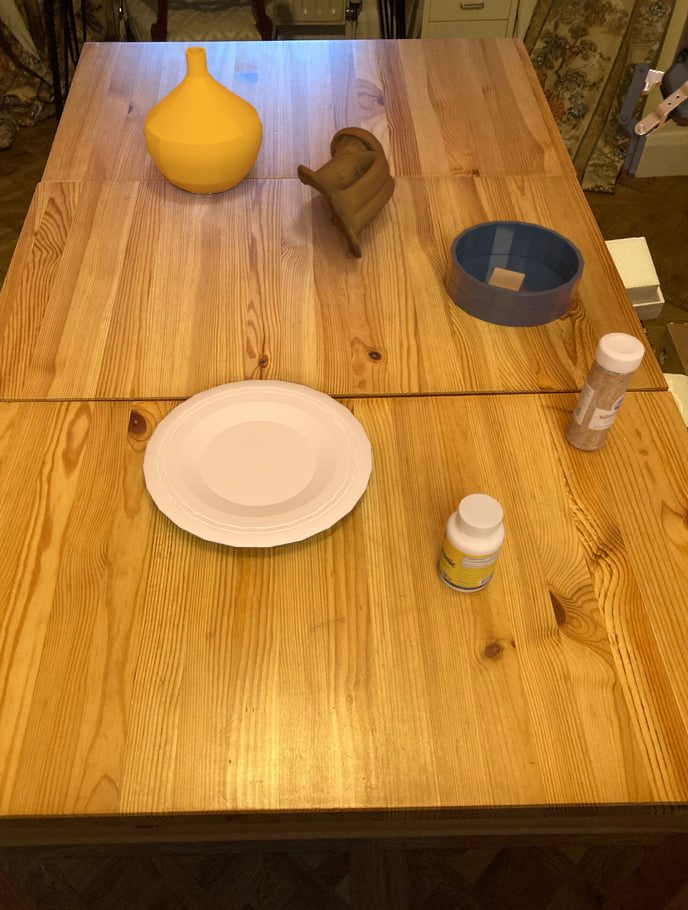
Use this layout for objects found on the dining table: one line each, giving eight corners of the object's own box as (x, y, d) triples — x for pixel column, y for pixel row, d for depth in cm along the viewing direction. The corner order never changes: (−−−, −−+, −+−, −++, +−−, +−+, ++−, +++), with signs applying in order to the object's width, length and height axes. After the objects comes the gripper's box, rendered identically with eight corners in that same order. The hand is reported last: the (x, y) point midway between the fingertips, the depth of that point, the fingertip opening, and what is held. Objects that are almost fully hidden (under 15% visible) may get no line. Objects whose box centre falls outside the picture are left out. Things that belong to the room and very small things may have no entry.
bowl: (558, 255, 111) (568, 220, 107) (585, 331, 100) (597, 295, 96) (438, 254, 111) (444, 219, 107) (452, 330, 100) (459, 294, 96)
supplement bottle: (434, 548, 78) (448, 485, 70) (488, 550, 78) (508, 487, 70) (438, 593, 75) (453, 532, 67) (494, 595, 75) (516, 534, 67)
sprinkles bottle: (598, 457, 86) (639, 364, 76) (558, 443, 88) (594, 349, 77) (609, 432, 89) (650, 339, 78) (571, 418, 90) (606, 325, 80)
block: (489, 292, 105) (495, 267, 101) (518, 299, 104) (525, 274, 101) (482, 309, 102) (487, 283, 99) (511, 316, 101) (518, 290, 98)
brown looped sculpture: (235, 185, 109) (321, 104, 117) (269, 263, 118) (347, 182, 126) (336, 187, 98) (423, 96, 106) (365, 273, 107) (444, 183, 115)
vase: (136, 203, 120) (112, 71, 105) (169, 147, 131) (152, 22, 117) (250, 214, 118) (243, 82, 103) (274, 157, 129) (270, 30, 115)
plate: (117, 543, 78) (113, 531, 77) (176, 381, 94) (174, 369, 93) (360, 570, 76) (362, 559, 75) (379, 400, 92) (380, 388, 90)
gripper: (659, -18, 71) (605, 160, 73) (826, 3, 68) (764, 188, 70) (645, 26, 78) (596, 187, 81) (795, 46, 75) (740, 214, 77)
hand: (674, 187), depth 75 cm, fingers open, 8 cm apart
